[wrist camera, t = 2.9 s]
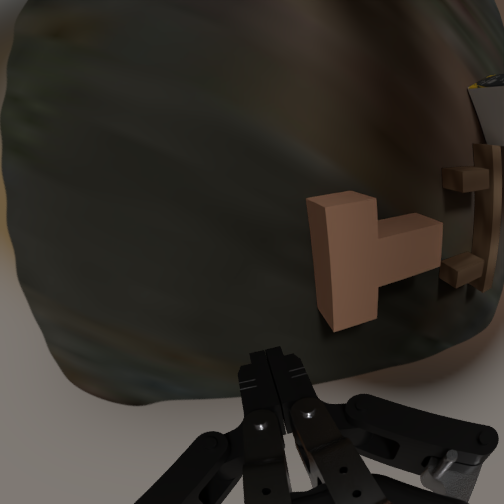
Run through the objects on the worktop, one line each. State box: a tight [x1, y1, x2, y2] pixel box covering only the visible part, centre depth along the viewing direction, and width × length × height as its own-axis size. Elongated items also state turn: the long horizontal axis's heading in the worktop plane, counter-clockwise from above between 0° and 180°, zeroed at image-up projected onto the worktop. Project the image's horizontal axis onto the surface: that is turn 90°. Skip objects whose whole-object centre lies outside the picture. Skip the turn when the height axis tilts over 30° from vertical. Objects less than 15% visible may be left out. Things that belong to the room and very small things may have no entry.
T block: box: [306, 191, 443, 332], centre depth 22 cm, size 10×11×4 cm
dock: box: [439, 144, 502, 293], centre depth 23 cm, size 17×8×3 cm, turn 10°
